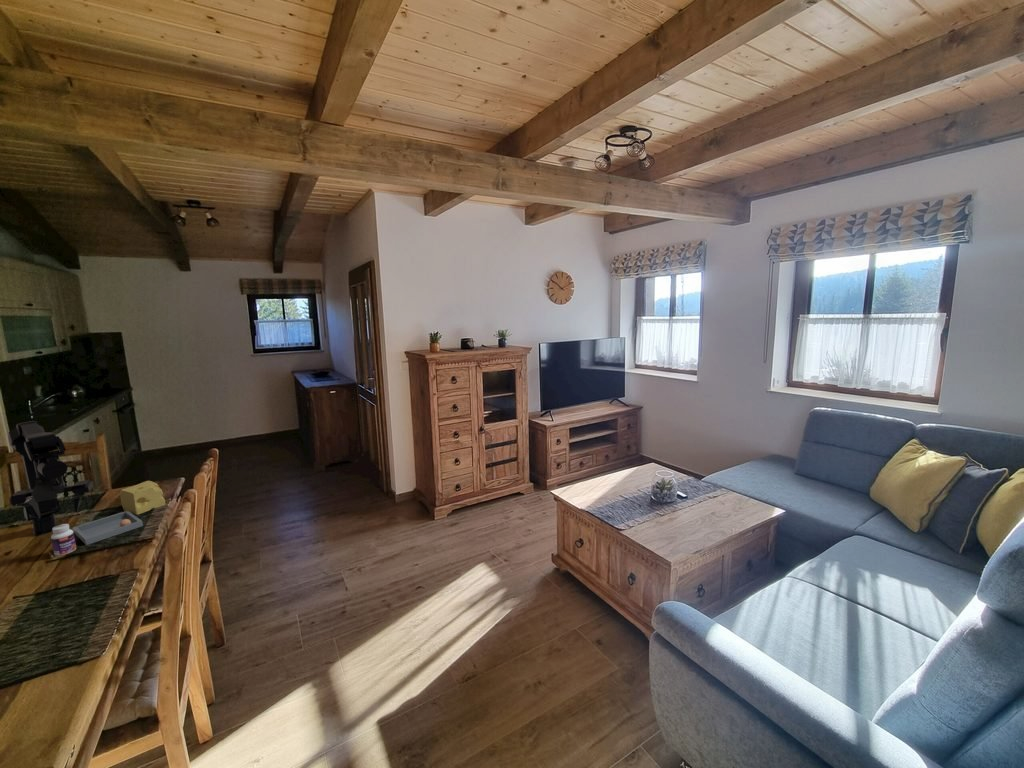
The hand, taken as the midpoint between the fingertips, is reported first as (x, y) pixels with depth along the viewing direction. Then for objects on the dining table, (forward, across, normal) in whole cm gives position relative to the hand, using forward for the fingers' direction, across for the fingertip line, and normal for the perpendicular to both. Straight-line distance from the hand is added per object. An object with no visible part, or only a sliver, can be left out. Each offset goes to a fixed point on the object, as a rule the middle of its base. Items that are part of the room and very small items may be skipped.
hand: (58, 515), depth 146 cm
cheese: (+14, +16, +28) cm, 35 cm away
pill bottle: (+14, 0, 0) cm, 14 cm away
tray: (+14, +9, +12) cm, 20 cm away
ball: (+13, +14, +10) cm, 22 cm away
